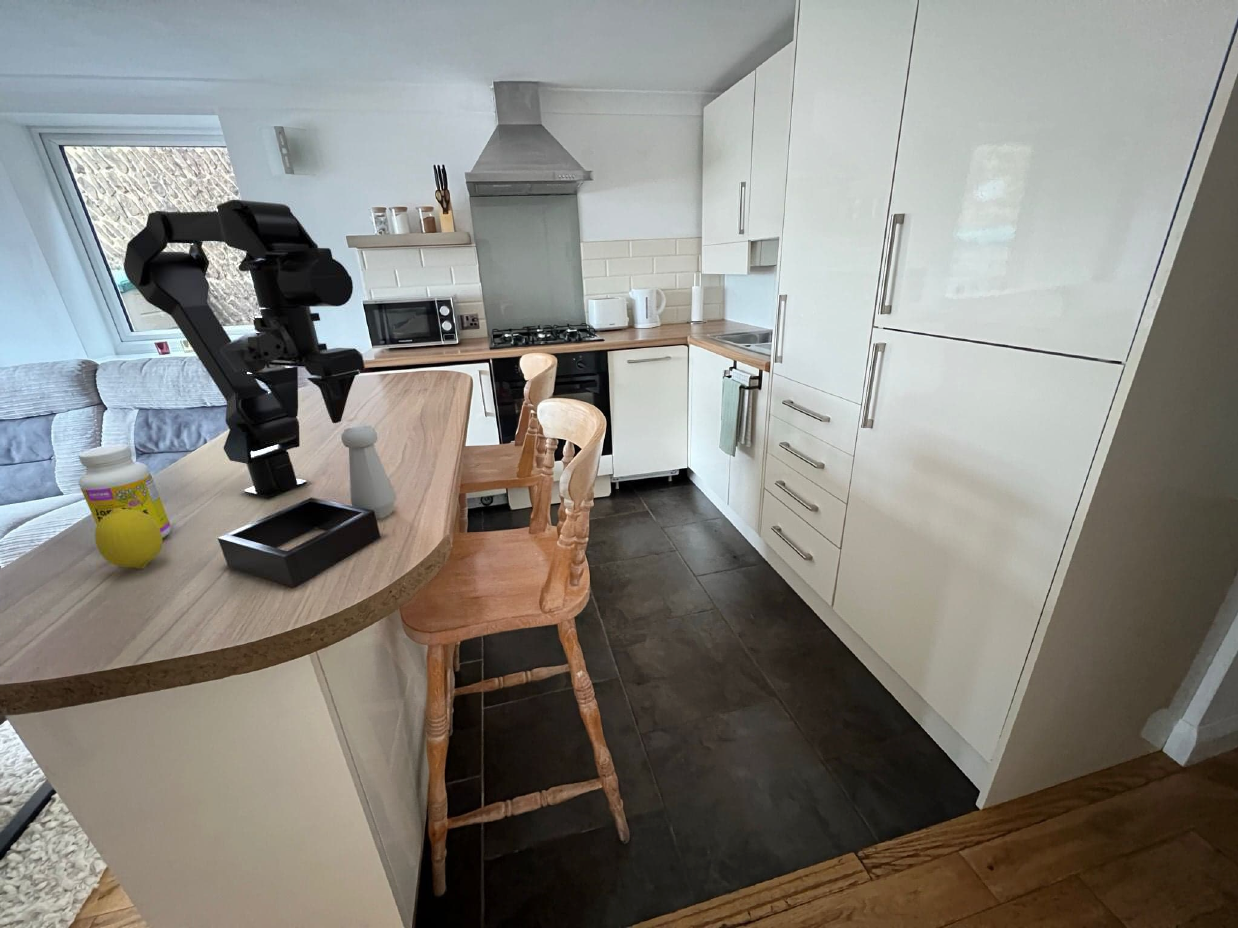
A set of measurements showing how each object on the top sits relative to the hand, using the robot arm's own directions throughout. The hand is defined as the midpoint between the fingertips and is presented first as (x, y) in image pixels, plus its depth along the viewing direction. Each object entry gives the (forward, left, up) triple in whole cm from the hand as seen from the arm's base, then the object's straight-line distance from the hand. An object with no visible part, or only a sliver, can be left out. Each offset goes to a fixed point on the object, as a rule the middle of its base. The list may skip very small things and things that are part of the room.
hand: (314, 419), depth 73 cm
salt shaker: (+10, -1, -13) cm, 16 cm away
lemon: (-6, -22, -13) cm, 26 cm away
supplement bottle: (-15, -18, -13) cm, 27 cm away
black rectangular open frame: (+10, -12, -13) cm, 20 cm away
